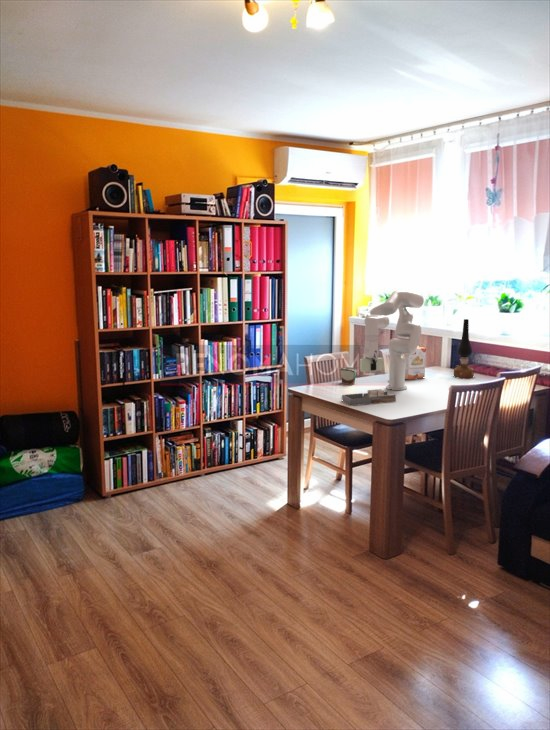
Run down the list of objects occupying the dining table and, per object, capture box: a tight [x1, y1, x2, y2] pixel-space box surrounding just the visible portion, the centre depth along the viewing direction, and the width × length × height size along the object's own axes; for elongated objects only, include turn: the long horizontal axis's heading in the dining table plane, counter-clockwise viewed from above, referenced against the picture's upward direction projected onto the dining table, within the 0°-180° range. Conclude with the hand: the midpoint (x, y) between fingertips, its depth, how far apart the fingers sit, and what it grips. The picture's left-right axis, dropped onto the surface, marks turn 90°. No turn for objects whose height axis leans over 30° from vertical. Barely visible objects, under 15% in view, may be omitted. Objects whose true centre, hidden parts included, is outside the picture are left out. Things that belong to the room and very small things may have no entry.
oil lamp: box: [453, 318, 475, 379], centre depth 400 cm, size 14×15×40 cm
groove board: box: [363, 391, 397, 404], centre depth 338 cm, size 11×15×4 cm
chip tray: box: [341, 392, 373, 406], centre depth 333 cm, size 12×13×4 cm
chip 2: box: [375, 388, 385, 396], centre depth 337 cm, size 4×4×4 cm
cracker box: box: [403, 346, 427, 380], centre depth 398 cm, size 14×6×21 cm, turn 114°
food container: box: [339, 366, 358, 386], centre depth 386 cm, size 12×6×10 cm, turn 43°
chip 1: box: [367, 389, 377, 398], centre depth 336 cm, size 4×4×4 cm
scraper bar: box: [359, 357, 384, 373], centre depth 342 cm, size 4×13×7 cm, turn 104°
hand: (371, 369), depth 343 cm, fingers closed on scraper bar, 4 cm apart
